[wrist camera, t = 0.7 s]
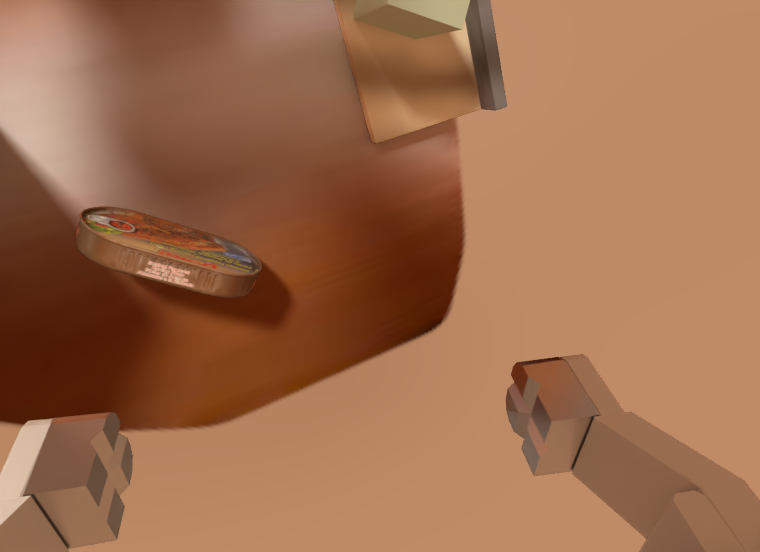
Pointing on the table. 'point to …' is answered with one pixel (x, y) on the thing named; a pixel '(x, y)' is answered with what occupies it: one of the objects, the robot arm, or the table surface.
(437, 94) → the shelf
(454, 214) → the table surface
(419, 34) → the carton
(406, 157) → the table surface
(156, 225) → the tin
